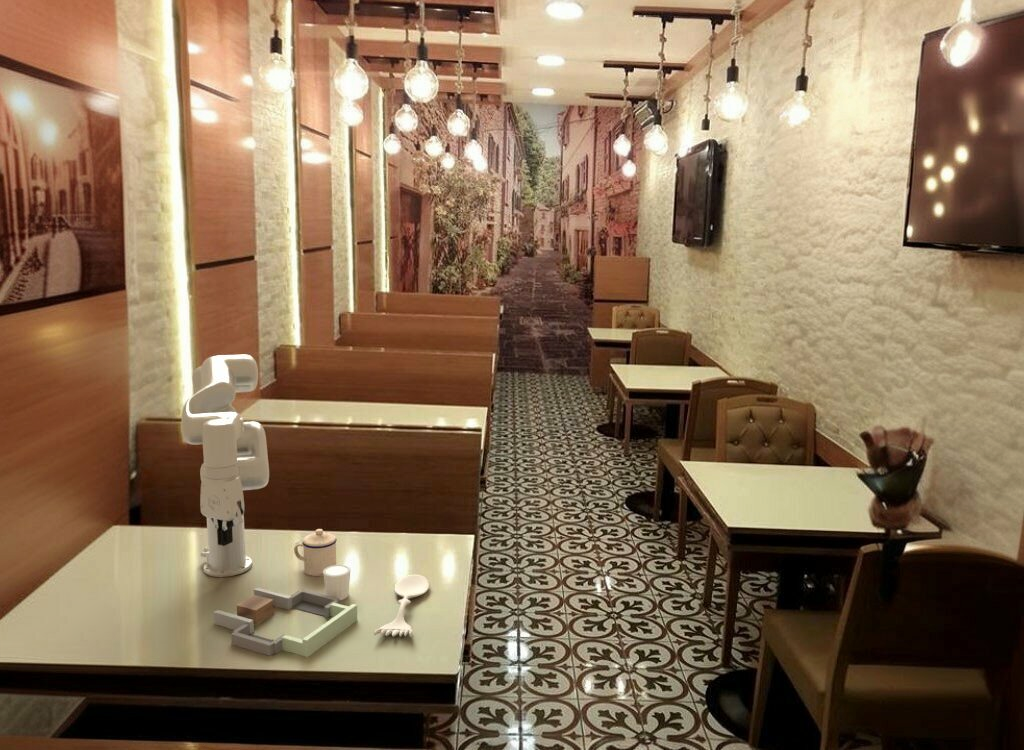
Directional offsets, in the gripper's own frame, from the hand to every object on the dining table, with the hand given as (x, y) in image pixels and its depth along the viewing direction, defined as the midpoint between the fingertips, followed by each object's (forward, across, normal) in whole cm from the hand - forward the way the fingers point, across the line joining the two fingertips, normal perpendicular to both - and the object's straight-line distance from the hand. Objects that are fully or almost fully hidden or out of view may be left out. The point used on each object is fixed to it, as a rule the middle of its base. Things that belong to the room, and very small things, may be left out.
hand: (225, 543), depth 190 cm
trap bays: (+17, +18, 0) cm, 25 cm away
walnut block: (+17, +9, 0) cm, 19 cm away
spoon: (+18, +39, +18) cm, 47 cm away
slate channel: (+17, +16, 0) cm, 24 cm away
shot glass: (+17, +20, +18) cm, 31 cm away
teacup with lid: (+17, +4, +28) cm, 33 cm away
